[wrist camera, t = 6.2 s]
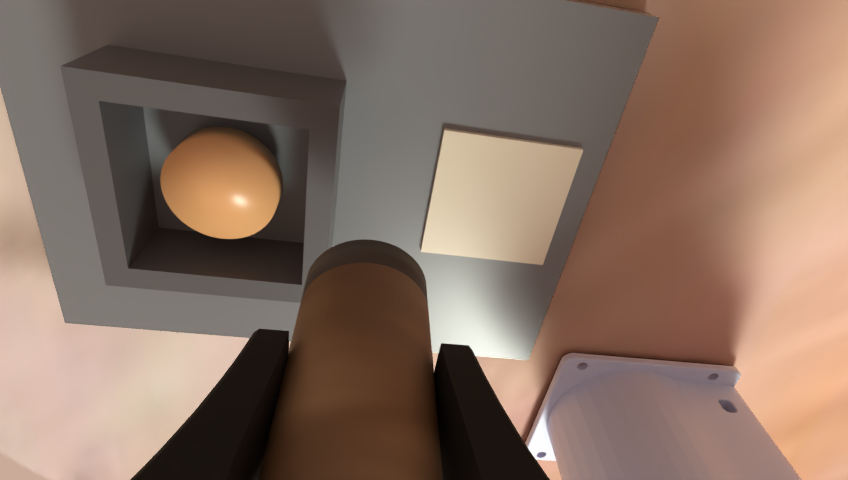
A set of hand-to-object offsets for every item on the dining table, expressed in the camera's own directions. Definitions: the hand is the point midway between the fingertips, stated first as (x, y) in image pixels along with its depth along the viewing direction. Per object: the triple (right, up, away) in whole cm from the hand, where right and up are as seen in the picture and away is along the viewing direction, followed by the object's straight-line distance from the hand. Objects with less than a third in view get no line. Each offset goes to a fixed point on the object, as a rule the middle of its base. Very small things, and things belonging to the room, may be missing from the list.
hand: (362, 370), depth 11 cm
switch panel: (-2, +5, +8) cm, 10 cm away
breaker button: (-5, +5, +6) cm, 9 cm away
